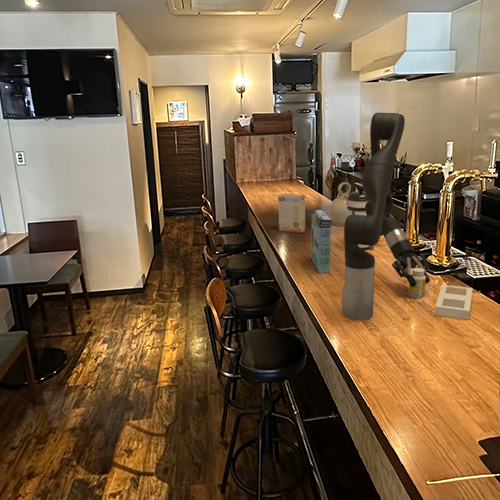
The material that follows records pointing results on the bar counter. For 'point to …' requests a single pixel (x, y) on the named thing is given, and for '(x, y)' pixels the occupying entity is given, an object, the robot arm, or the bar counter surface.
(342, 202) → the jug
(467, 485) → the bar counter surface
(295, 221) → the cracker box
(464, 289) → the bottle caddy
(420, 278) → the supplement bottle
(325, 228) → the gum box
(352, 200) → the coffee press
